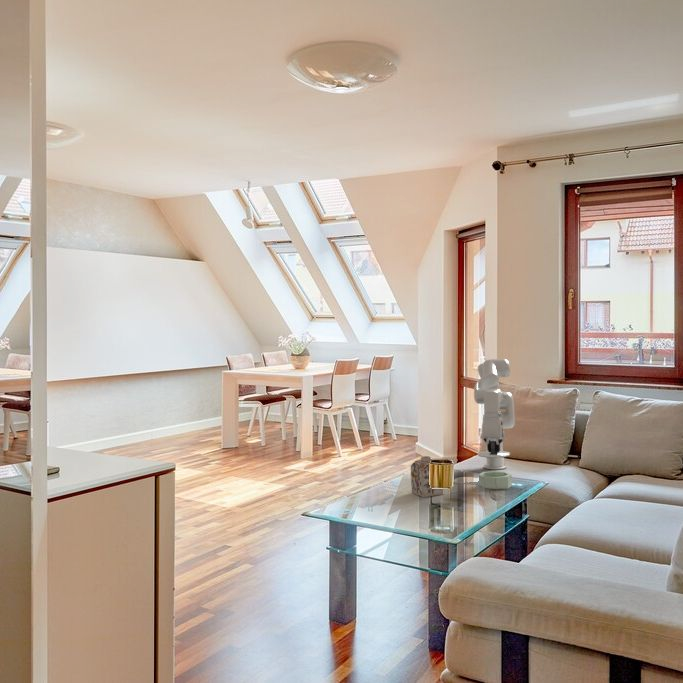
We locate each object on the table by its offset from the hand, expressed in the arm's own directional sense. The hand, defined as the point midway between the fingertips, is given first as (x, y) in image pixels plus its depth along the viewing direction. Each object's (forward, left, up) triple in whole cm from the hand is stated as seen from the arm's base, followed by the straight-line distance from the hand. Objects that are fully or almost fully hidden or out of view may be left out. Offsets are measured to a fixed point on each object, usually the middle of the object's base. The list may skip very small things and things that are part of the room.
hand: (493, 451), depth 338 cm
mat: (-6, -17, -17) cm, 25 cm away
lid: (0, 0, -2) cm, 2 cm away
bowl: (0, 0, -17) cm, 17 cm away
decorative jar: (+26, -25, -18) cm, 40 cm away
